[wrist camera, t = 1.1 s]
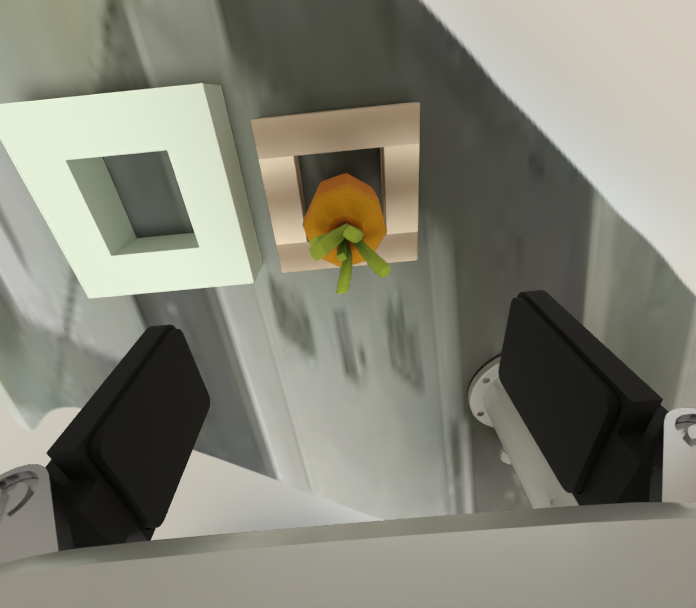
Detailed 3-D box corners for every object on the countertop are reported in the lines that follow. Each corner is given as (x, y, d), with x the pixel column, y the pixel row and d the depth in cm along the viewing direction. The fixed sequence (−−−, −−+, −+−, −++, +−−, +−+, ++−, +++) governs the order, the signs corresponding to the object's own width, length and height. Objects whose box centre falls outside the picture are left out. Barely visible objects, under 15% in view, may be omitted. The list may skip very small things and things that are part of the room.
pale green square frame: (262, 263, 32) (254, 283, 28) (115, 277, 32) (88, 298, 29) (221, 85, 25) (202, 83, 21) (30, 105, 25) (-18, 106, 21)
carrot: (383, 192, 29) (422, 266, 16) (339, 229, 30) (342, 325, 17) (345, 142, 27) (354, 182, 14) (300, 185, 28) (270, 257, 15)
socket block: (410, 247, 31) (417, 260, 29) (286, 258, 32) (282, 272, 29) (411, 102, 25) (420, 102, 23) (258, 117, 26) (250, 119, 23)
